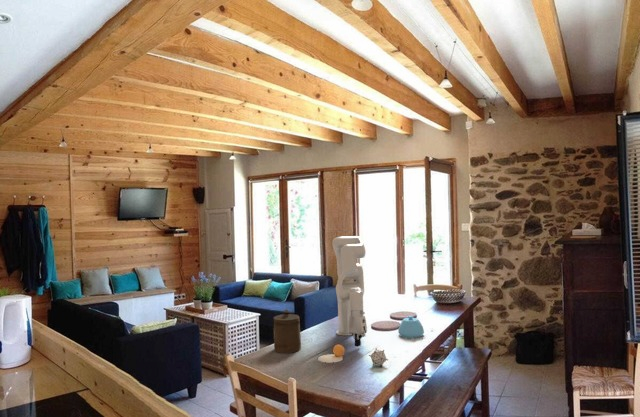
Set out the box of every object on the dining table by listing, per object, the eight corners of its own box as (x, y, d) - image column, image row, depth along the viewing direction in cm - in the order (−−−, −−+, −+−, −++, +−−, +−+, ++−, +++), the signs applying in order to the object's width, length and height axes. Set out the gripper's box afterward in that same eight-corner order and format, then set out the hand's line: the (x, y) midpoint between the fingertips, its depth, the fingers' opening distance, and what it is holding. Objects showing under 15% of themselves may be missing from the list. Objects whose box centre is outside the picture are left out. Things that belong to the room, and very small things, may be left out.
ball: (338, 354, 258) (338, 343, 259) (346, 356, 254) (347, 345, 255) (330, 355, 254) (331, 344, 255) (338, 358, 250) (339, 346, 250)
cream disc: (330, 353, 260) (329, 352, 260) (348, 358, 251) (348, 357, 251) (312, 359, 251) (312, 358, 251) (331, 364, 242) (331, 364, 242)
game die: (378, 374, 236) (369, 361, 231) (371, 363, 243) (363, 350, 239) (393, 364, 236) (385, 351, 232) (386, 353, 244) (378, 340, 239)
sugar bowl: (424, 339, 281) (423, 319, 280) (398, 338, 284) (397, 319, 283) (423, 332, 295) (423, 313, 295) (399, 331, 298) (398, 313, 298)
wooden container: (287, 344, 280) (285, 306, 280) (306, 348, 271) (305, 309, 271) (268, 350, 269) (267, 311, 269) (288, 355, 259) (286, 314, 259)
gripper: (371, 313, 264) (372, 346, 264) (350, 309, 274) (351, 342, 274) (362, 315, 258) (363, 350, 259) (342, 312, 269) (343, 345, 269)
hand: (357, 345), depth 267 cm, fingers closed
